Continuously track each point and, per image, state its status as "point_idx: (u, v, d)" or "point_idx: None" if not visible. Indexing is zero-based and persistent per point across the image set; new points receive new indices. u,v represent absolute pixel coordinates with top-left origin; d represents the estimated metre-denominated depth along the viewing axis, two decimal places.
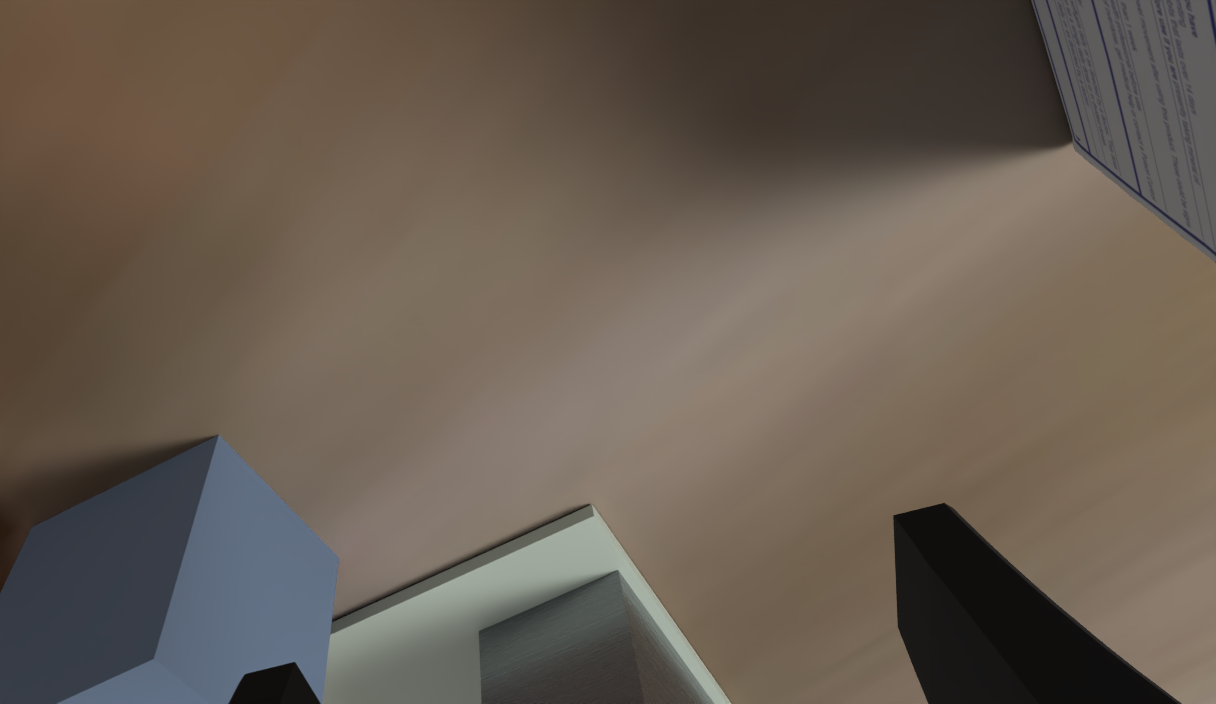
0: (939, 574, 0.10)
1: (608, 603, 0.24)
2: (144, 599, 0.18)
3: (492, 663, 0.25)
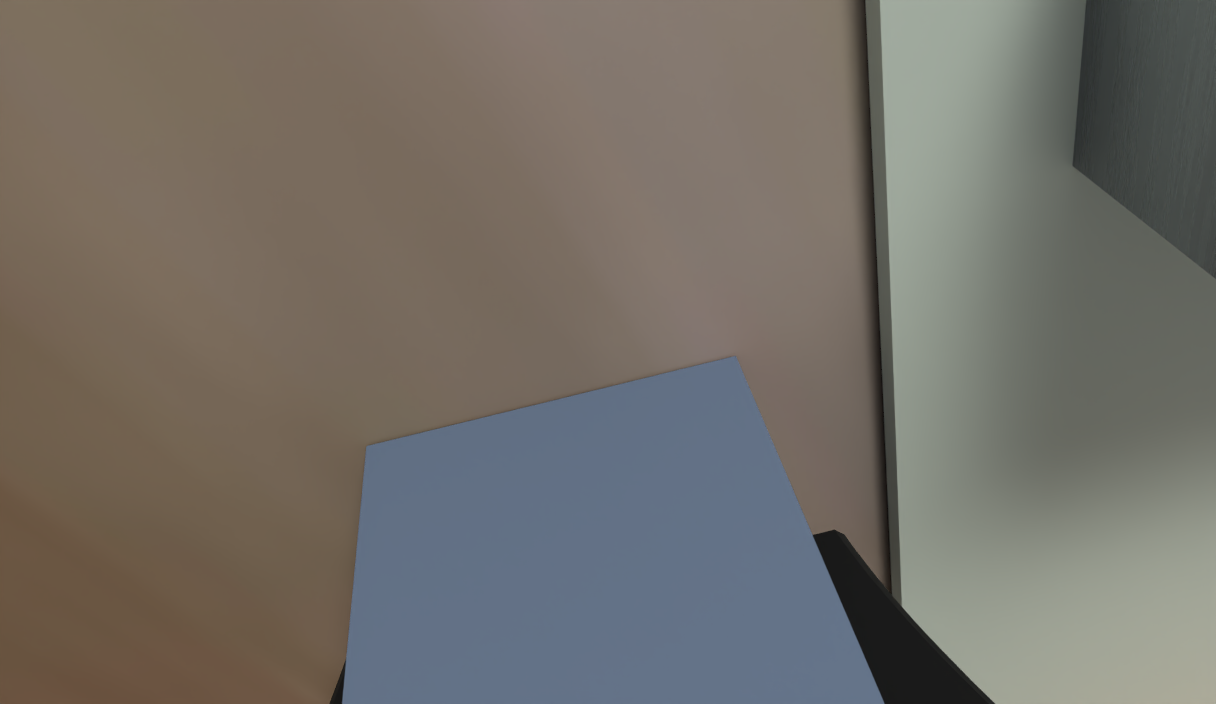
0: None
1: None
2: None
3: (1140, 183, 0.09)
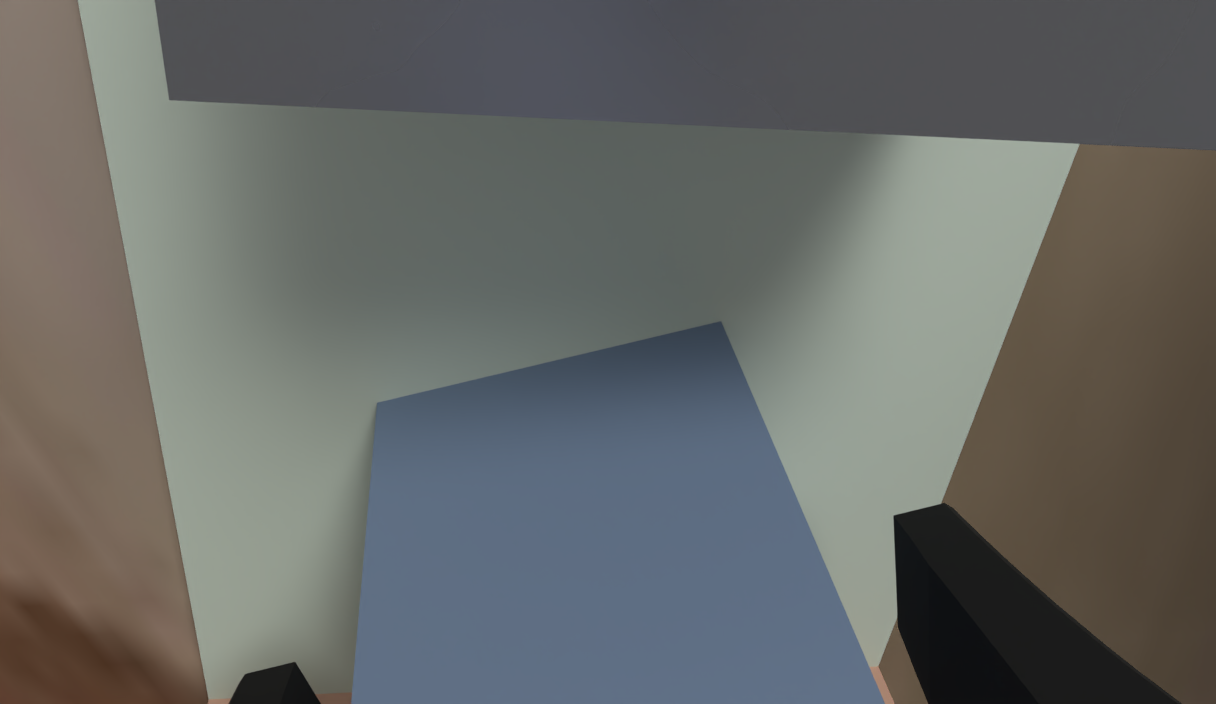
0: (939, 574, 0.10)
1: None
2: None
3: None
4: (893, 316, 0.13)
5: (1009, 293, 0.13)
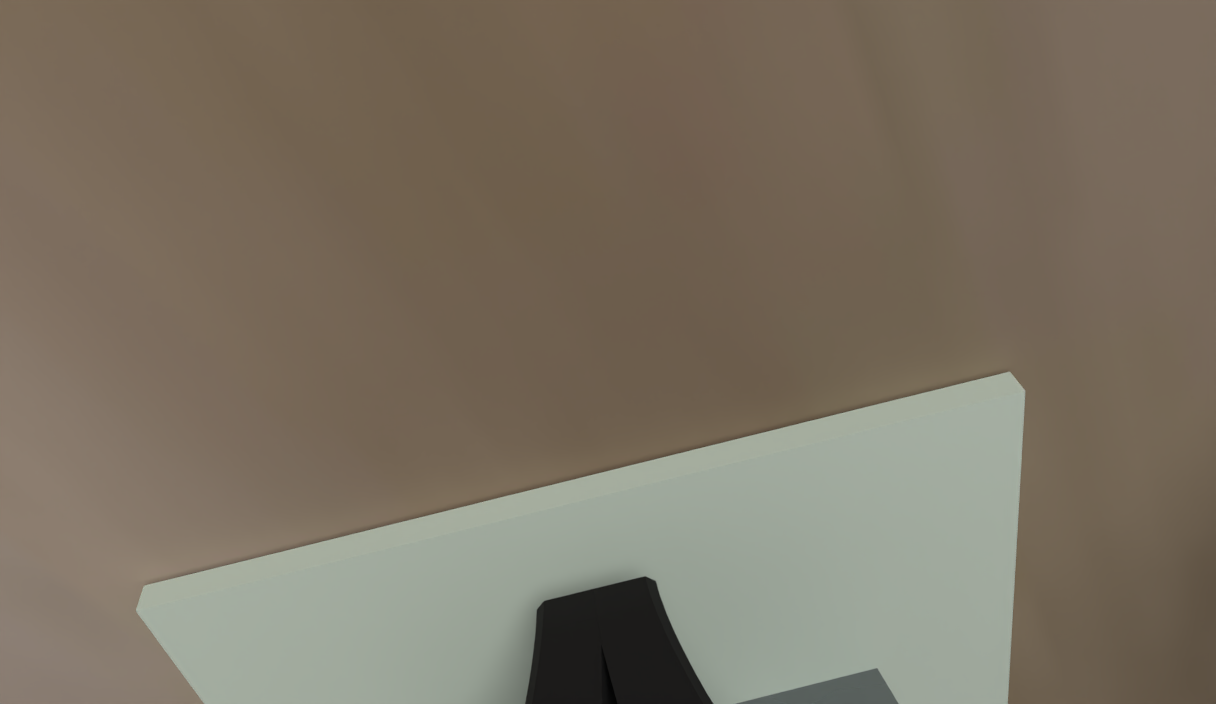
0: (609, 655, 0.10)
1: None
2: None
3: None
4: None
5: None
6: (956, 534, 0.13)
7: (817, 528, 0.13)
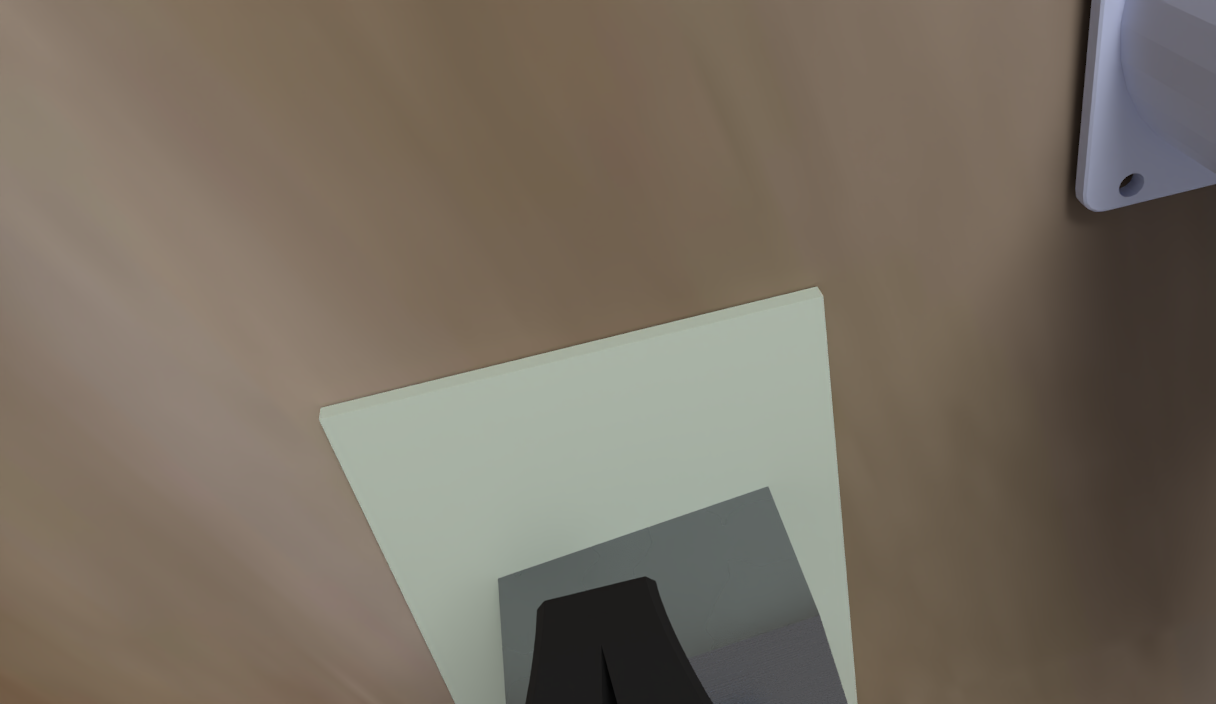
0: (609, 655, 0.10)
1: None
2: None
3: None
4: None
5: (838, 560, 0.26)
6: (793, 386, 0.22)
7: (709, 379, 0.22)
